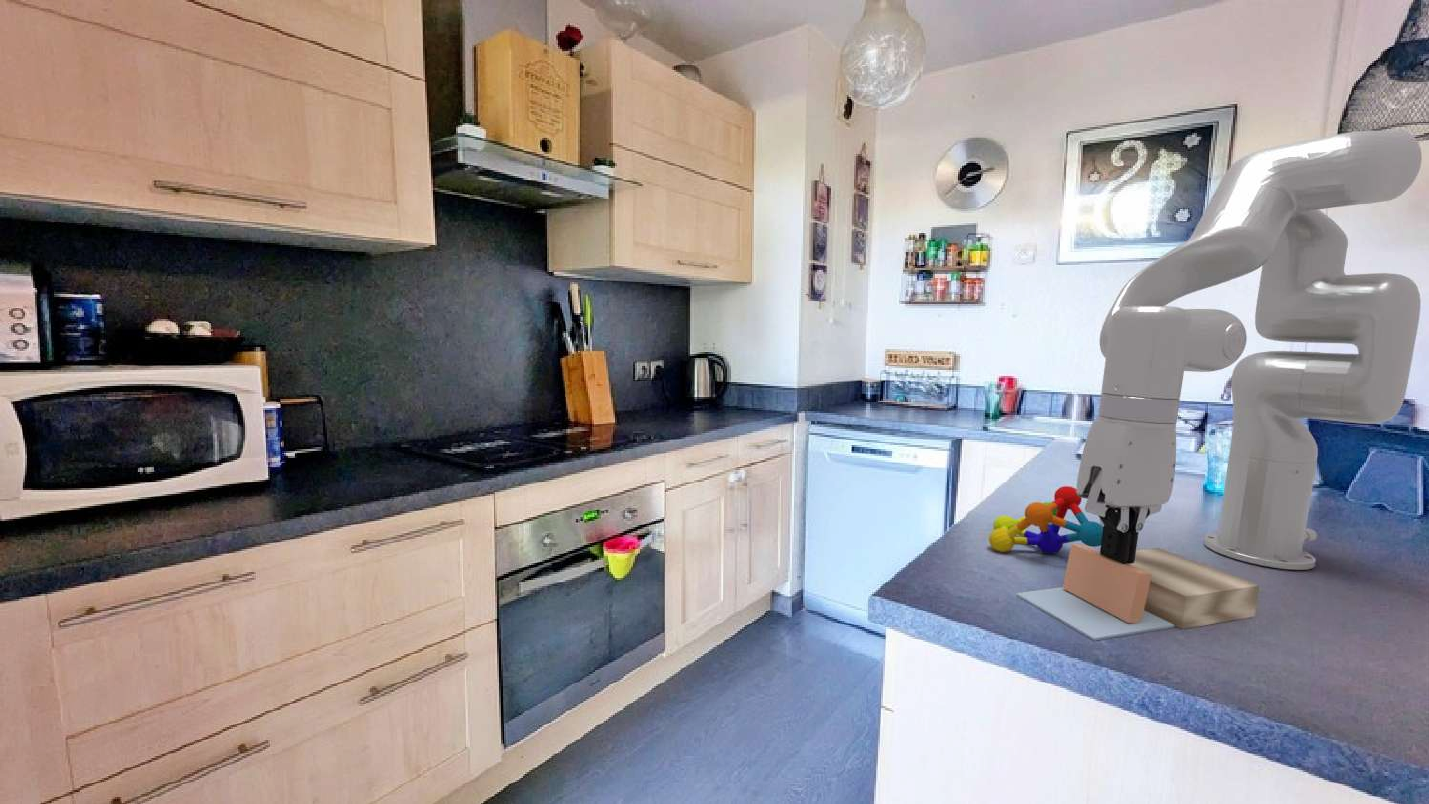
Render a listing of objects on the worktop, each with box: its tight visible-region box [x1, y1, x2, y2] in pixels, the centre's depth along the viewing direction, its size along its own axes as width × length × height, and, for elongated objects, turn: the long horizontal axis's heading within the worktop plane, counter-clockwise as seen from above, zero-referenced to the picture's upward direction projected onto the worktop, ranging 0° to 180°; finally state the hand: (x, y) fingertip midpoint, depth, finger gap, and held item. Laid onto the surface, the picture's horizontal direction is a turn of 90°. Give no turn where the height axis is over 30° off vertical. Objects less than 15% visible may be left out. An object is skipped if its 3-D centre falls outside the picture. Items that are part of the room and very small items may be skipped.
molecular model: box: [988, 485, 1104, 555], centre depth 88 cm, size 15×10×15 cm
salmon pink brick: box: [1061, 543, 1152, 623], centre depth 70 cm, size 6×9×2 cm
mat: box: [1015, 586, 1175, 642], centre depth 69 cm, size 12×11×1 cm
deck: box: [1130, 547, 1260, 630], centre depth 73 cm, size 12×12×4 cm
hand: (1116, 559), depth 69 cm, fingers closed
